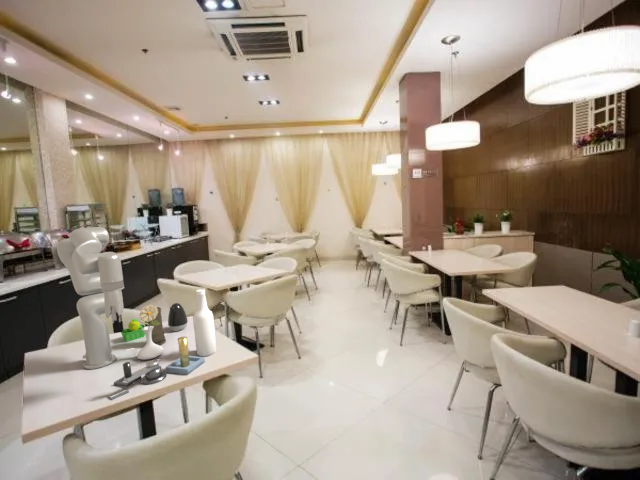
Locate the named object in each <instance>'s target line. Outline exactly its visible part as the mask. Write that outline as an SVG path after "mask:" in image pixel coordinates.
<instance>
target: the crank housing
mask: <svg viewBox="0 0 640 480" xmlns="http://www.w3.org/2000/svg"><path fill="white" fill-rule="evenodd" d="M162 369H163V368H162V366H161V365H159V367H158V368H156V369H154V370H152V371H150V372H148V373H146V374H144V375H143V377H142V376H140V377H138V378H136V379H134V380H132V381H130V382H126V381H124V376H122V377H121V378H119V379H117V380H115V381H114V382H113V386H115V387H124V388H129V387H130V386H132V385H134V384H135V383H137V382H138V381H139V380H141V384H143V385H154V384H157V383H160V382H162V381H164V380H165V379H166V378H167V372H166V371H164V370H162Z"/></svg>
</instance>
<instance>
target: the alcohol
mask: <svg viewBox="0 0 640 480" xmlns="http://www.w3.org/2000/svg"><path fill="white" fill-rule="evenodd" d="M195 295H196V310H195V312H194V313H193V314H192V315H193V318H192V321H193V331H194V339H195V341H194V342H195V349H196V354H197V356H198V357H204V358H205V357H209V356H212V355H214V354H215V353H216V351H217V342H216V341H217V340H216V333H215V332H216V329H215V321H214V320H215V319H214V314H213V311H212V310H210V309H209V307H208V302H207V297H206V289H204V288H200V289H197V290H195Z"/></svg>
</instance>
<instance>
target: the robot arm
mask: <svg viewBox="0 0 640 480" xmlns="http://www.w3.org/2000/svg"><path fill="white" fill-rule="evenodd" d="M109 242H110V234H109V232H108V230H107V229H106V228H105V227H104V226H93V227H91V226H90V227H81V228H76V229H74V230H72V231H71V232H70V234H69V236H68V238H64V239H61V240H60V241H58V242H57V244H56V251H57V252H56V253H57V256H58V258H59V260H60V261H61V263H62V264H63V265H64V266H65V268H66V269H67V271H68V273H69V276H70V279H71V282H72V286H73V287H74V290H75V292H76V293H77V295H79V296H82V297H81V298H79V299H78V301H77V302H76V310H77V313H78V316H79V319H80V323H81V327H82V334H83V340H84V348H85V354H84V355H82V359H85V361H84V363H83V368H84V369H86V370H96V369H100V368H104V367H107V366H109V365H111V364H113V363H114V362H115V361H117V355H116V354H113V353H112V346H111V338H110V330H109V324H108V322H107V319H106V320H105V318H108V319H109V318H110V317H111V322H112V323H111V324H112V331H113V334H117V333H121V332H123V330H124V329H125V328H124V323H123V317H122V316H123V315H122V314H123V312H124V301H123V300H124V297H123V292H122V290H124V289H125V284H124V283H125V282H124V275H123V268H122V260H121V259H122V258H121V256H120V254H119V253H116V252H113V251H105V252H103V251H104V249H105V248H106V247H107V245H108V244H109ZM104 314H105V318H103V317H101V316H102V315H104Z"/></svg>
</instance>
